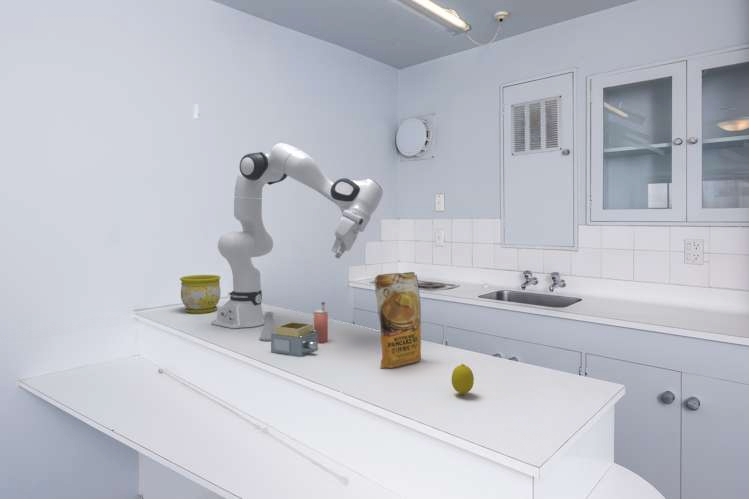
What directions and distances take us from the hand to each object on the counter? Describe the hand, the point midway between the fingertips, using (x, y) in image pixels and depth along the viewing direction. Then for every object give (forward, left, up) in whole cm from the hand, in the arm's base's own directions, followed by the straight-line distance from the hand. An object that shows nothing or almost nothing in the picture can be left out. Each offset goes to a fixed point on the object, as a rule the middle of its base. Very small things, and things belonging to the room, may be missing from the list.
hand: (335, 254), depth 164 cm
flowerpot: (-87, +26, -32) cm, 96 cm away
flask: (-26, -3, -32) cm, 41 cm away
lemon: (+52, -28, -32) cm, 67 cm away
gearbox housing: (-7, -12, -32) cm, 35 cm away
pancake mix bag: (+28, -10, -32) cm, 44 cm away
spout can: (-7, +2, -32) cm, 33 cm away
